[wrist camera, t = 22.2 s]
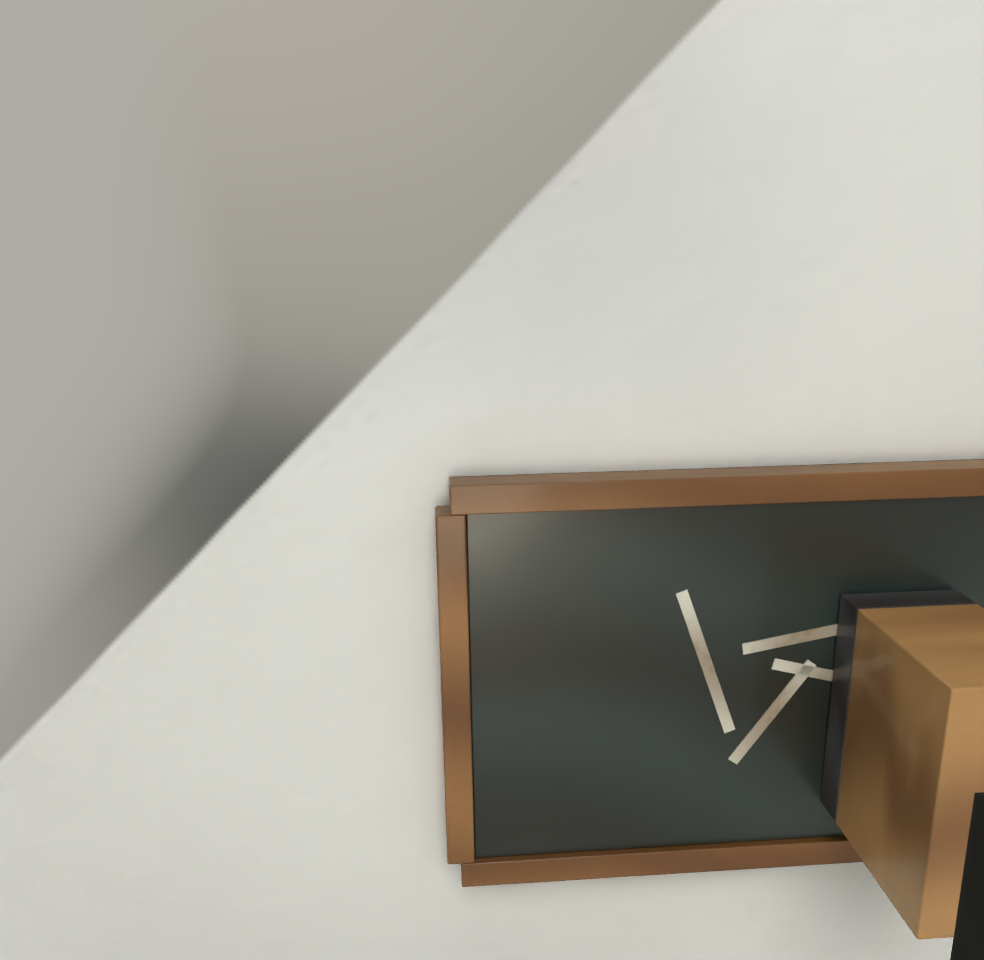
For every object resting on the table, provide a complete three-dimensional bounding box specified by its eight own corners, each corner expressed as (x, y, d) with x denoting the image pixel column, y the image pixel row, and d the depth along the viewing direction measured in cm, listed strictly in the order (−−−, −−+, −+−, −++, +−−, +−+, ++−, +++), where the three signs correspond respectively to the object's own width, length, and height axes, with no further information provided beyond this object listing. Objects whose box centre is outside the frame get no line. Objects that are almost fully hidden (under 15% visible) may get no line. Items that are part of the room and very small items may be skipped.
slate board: (434, 477, 35) (434, 486, 33) (1104, 454, 36) (1132, 463, 35) (447, 864, 39) (448, 888, 38) (1040, 828, 41) (1062, 849, 40)
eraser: (840, 593, 36) (952, 689, 28) (955, 588, 36) (1098, 682, 28) (819, 801, 38) (916, 940, 31) (927, 795, 39) (1050, 931, 31)
